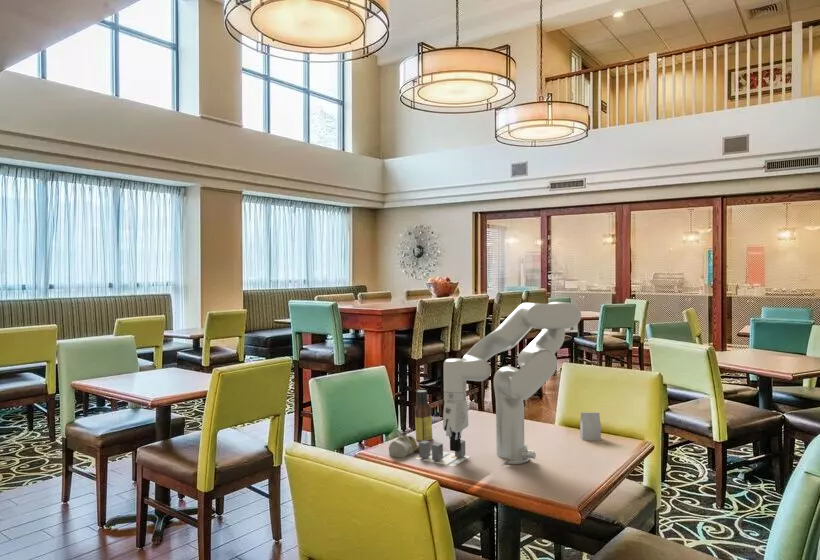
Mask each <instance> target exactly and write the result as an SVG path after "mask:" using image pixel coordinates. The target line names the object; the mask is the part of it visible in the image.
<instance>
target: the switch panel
mask: <svg viewBox="0 0 820 560" xmlns="http://www.w3.org/2000/svg"><path fill="white" fill-rule="evenodd" d="M468 458H470V456H469V455H465V456H464V457H462V458H460V457H455V452H454V453H453V452H448V451H443V459H441V460H439V461H435V460H432V449H430V456H429V457H427V458H426V459H425V458H420V457H419V455H418V456H417V457H415V458H414V459H415V460H419V461H426V462H429V463H435V464H440V465H444V466H445V465H446V466H448V467H449V466H450V467H456V466H457V465H458V464H461V462H464V461H466V460H467V459H468Z"/></svg>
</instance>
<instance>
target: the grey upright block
mask: <svg viewBox="0 0 820 560" xmlns="http://www.w3.org/2000/svg"><path fill="white" fill-rule="evenodd" d="M600 415H601V414H600V412H580V420H579V424H580V425H579V427H580V429H579V433H580V435H579V437H580V439H581V440H582V441H601V440H602V431H601V430H602V429H601V428H602V425H601V424H602V423H601V416H600Z"/></svg>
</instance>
